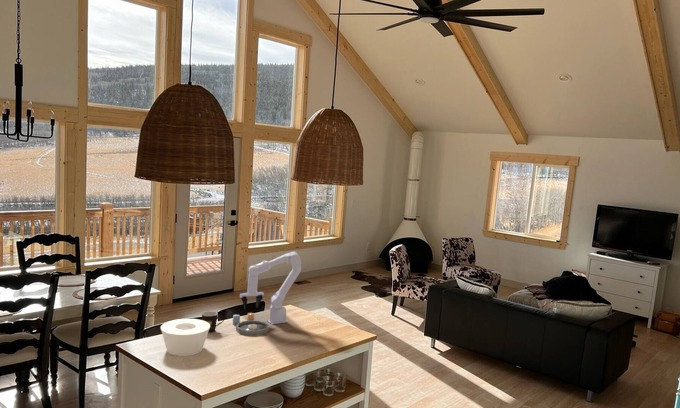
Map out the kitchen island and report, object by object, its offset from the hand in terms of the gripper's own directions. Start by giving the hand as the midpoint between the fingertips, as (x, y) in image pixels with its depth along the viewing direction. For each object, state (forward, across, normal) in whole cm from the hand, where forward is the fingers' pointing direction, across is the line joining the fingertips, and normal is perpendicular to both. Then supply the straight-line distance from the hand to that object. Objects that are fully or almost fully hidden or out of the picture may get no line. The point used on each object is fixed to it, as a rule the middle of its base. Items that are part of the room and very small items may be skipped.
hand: (251, 308), depth 307 cm
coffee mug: (+9, +26, +7) cm, 28 cm away
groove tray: (+8, +4, +13) cm, 16 cm away
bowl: (+9, +46, +26) cm, 54 cm away
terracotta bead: (+8, 0, 0) cm, 9 cm away
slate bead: (+9, +9, 0) cm, 12 cm away
